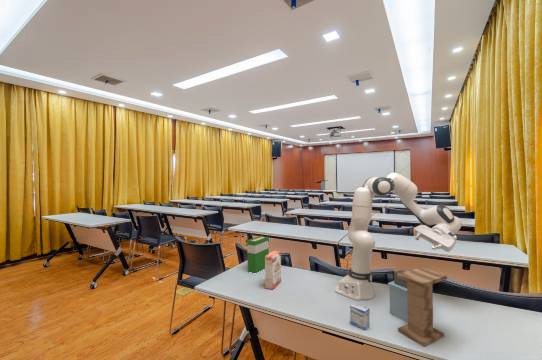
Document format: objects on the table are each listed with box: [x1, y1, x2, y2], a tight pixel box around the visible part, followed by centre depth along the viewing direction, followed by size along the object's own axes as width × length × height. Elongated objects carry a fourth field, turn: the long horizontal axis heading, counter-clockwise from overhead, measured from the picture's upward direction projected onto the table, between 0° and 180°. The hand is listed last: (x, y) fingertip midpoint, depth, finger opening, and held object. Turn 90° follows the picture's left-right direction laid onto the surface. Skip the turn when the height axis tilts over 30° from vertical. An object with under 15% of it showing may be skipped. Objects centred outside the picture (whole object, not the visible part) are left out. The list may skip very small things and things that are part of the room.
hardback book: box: [246, 235, 270, 274], centre depth 197 cm, size 18×7×24 cm, turn 147°
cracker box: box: [264, 250, 282, 290], centre depth 168 cm, size 14×6×21 cm, turn 156°
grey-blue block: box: [387, 280, 408, 324], centre depth 129 cm, size 17×11×16 cm, turn 117°
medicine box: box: [349, 302, 371, 331], centre depth 120 cm, size 8×4×9 cm, turn 44°
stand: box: [397, 267, 448, 348], centre depth 113 cm, size 17×12×26 cm
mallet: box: [393, 269, 407, 288], centre depth 131 cm, size 23×8×6 cm, turn 118°
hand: (424, 243), depth 139 cm, fingers open, 8 cm apart
